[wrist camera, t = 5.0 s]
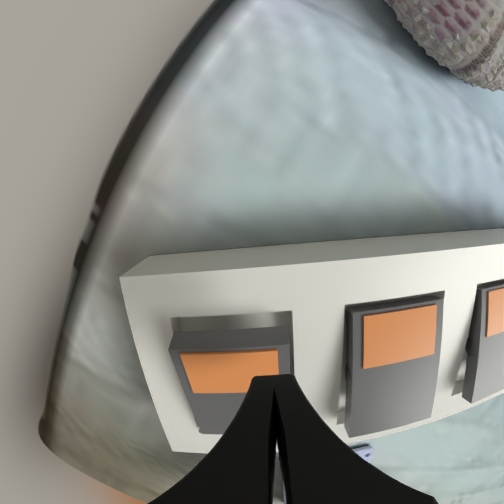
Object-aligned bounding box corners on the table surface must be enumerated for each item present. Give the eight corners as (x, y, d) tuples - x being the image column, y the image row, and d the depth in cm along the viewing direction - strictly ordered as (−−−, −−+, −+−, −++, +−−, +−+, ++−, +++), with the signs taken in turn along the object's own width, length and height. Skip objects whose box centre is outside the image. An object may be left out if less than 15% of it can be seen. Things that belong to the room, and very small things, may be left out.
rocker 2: (508, 374, 14) (521, 380, 12) (459, 395, 14) (472, 404, 12) (515, 277, 14) (531, 277, 12) (466, 287, 14) (483, 289, 12)
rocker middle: (420, 406, 14) (431, 418, 12) (343, 423, 14) (349, 439, 13) (429, 294, 14) (444, 299, 12) (344, 306, 14) (353, 313, 13)
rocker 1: (288, 411, 16) (290, 433, 14) (204, 414, 16) (201, 435, 15) (286, 321, 13) (289, 346, 11) (175, 327, 13) (167, 351, 12)
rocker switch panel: (488, 363, 19) (514, 387, 14) (184, 411, 20) (172, 451, 16) (513, 227, 16) (550, 237, 12) (149, 255, 17) (118, 277, 13)
